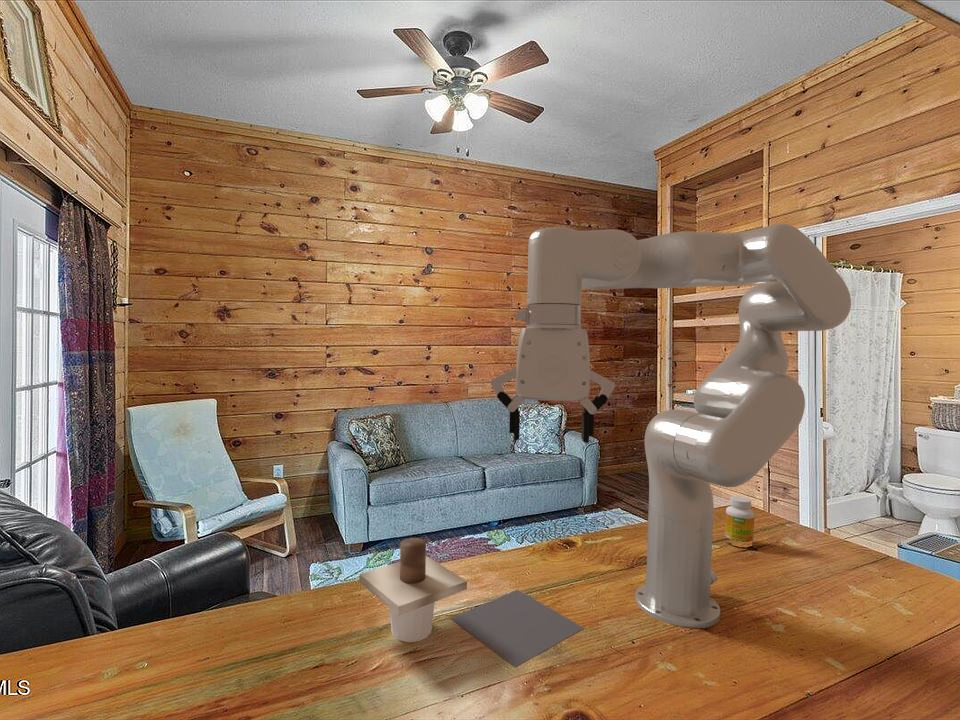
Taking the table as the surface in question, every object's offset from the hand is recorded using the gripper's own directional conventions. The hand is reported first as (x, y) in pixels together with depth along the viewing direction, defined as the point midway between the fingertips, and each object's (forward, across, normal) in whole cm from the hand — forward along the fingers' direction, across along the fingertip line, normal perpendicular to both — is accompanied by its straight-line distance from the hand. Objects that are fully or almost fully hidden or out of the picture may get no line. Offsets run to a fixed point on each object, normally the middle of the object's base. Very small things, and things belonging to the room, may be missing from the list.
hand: (550, 439), depth 70 cm
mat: (+28, -4, +1) cm, 29 cm away
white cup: (+28, -19, -2) cm, 34 cm away
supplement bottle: (+29, +42, +38) cm, 64 cm away
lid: (+21, -19, -2) cm, 29 cm away
